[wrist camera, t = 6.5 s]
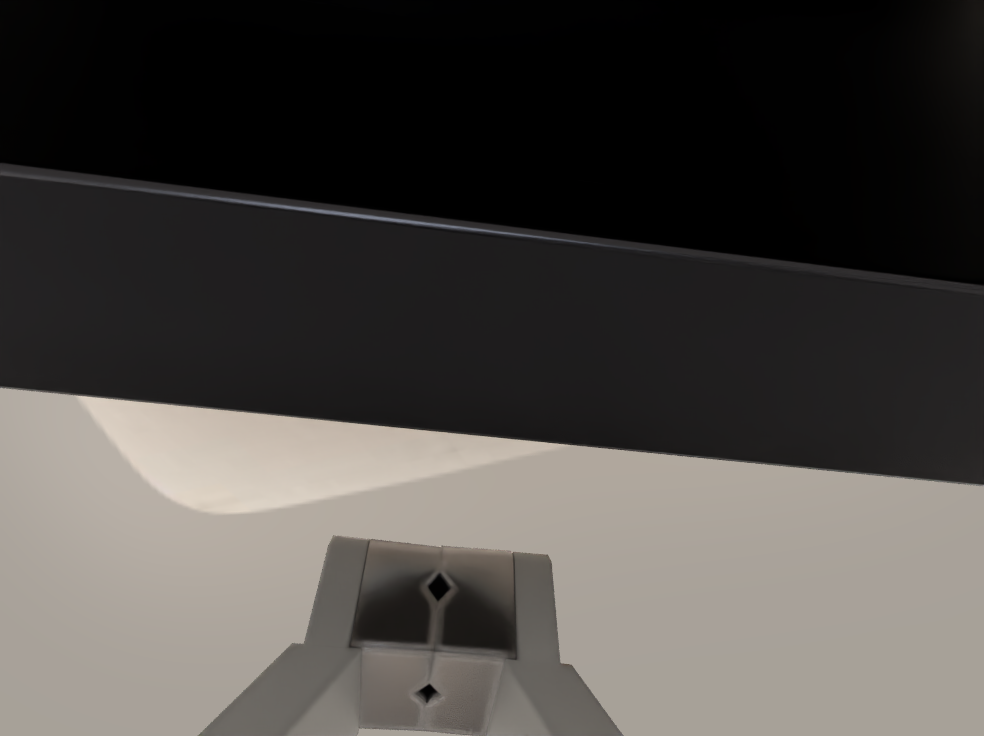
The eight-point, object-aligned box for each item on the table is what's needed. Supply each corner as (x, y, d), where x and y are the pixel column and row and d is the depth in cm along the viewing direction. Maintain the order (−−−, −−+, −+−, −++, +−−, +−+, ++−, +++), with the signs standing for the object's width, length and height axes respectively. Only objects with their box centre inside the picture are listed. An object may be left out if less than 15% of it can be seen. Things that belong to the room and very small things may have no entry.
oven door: (840, 112, 17) (1233, 711, 8) (77, 2, 16) (-578, 576, 6) (977, -146, 13) (2085, 425, 4) (-17, -322, 12) (-2064, -89, 2)
